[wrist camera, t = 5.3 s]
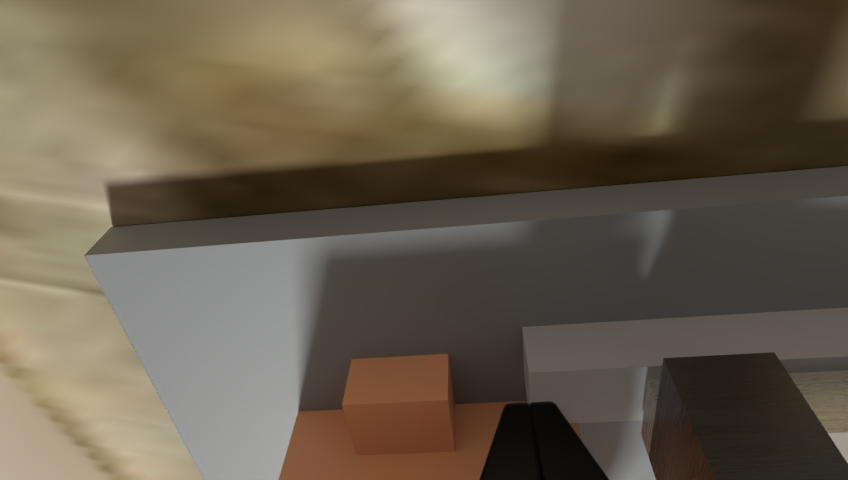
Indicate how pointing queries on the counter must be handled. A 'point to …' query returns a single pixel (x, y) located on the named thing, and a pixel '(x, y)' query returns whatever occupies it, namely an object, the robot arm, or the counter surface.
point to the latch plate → (480, 302)
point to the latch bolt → (745, 420)
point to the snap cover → (395, 427)
